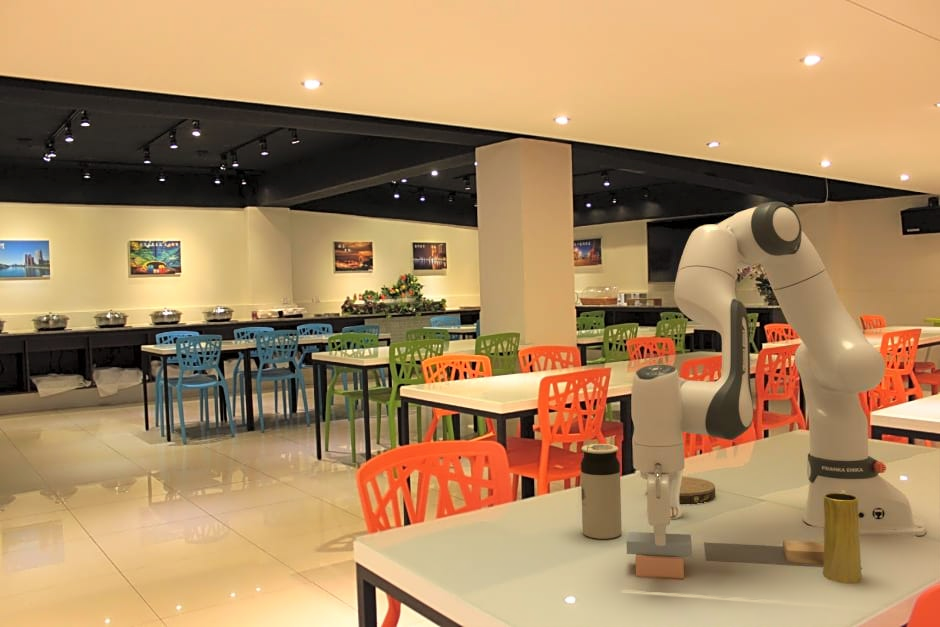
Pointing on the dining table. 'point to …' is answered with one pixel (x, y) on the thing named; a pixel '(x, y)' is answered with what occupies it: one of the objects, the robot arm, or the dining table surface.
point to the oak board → (803, 552)
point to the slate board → (646, 546)
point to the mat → (748, 554)
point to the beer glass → (676, 497)
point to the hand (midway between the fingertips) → (660, 535)
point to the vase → (841, 538)
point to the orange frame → (659, 566)
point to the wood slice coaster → (696, 491)
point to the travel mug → (601, 491)
